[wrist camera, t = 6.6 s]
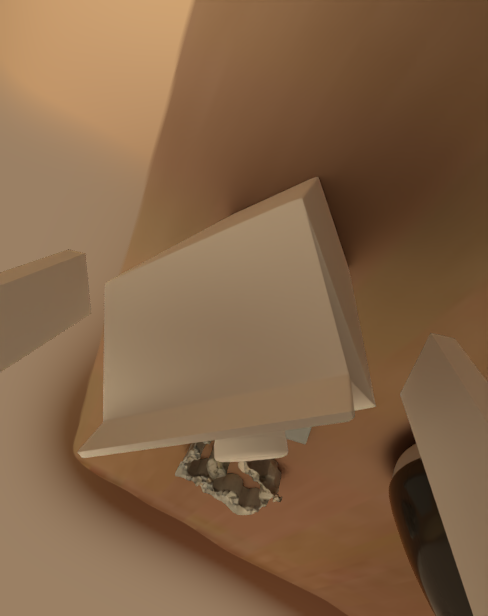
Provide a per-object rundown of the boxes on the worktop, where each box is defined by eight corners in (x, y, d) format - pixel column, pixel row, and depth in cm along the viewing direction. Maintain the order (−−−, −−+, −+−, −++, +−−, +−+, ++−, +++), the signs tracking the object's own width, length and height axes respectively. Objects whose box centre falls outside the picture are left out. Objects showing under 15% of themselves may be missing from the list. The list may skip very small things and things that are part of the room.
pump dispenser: (390, 408, 27) (449, 642, 14) (527, 430, 25) (754, 734, 12) (371, 483, 32) (403, 716, 18) (486, 507, 29) (618, 794, 16)
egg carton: (291, 467, 34) (287, 503, 30) (254, 495, 38) (247, 530, 34) (213, 414, 33) (199, 444, 30) (183, 447, 37) (167, 477, 33)
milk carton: (228, 215, 24) (-11, 343, 7) (318, 175, 21) (278, 223, 4) (263, 296, 26) (145, 541, 9) (349, 268, 23) (403, 544, 6)
